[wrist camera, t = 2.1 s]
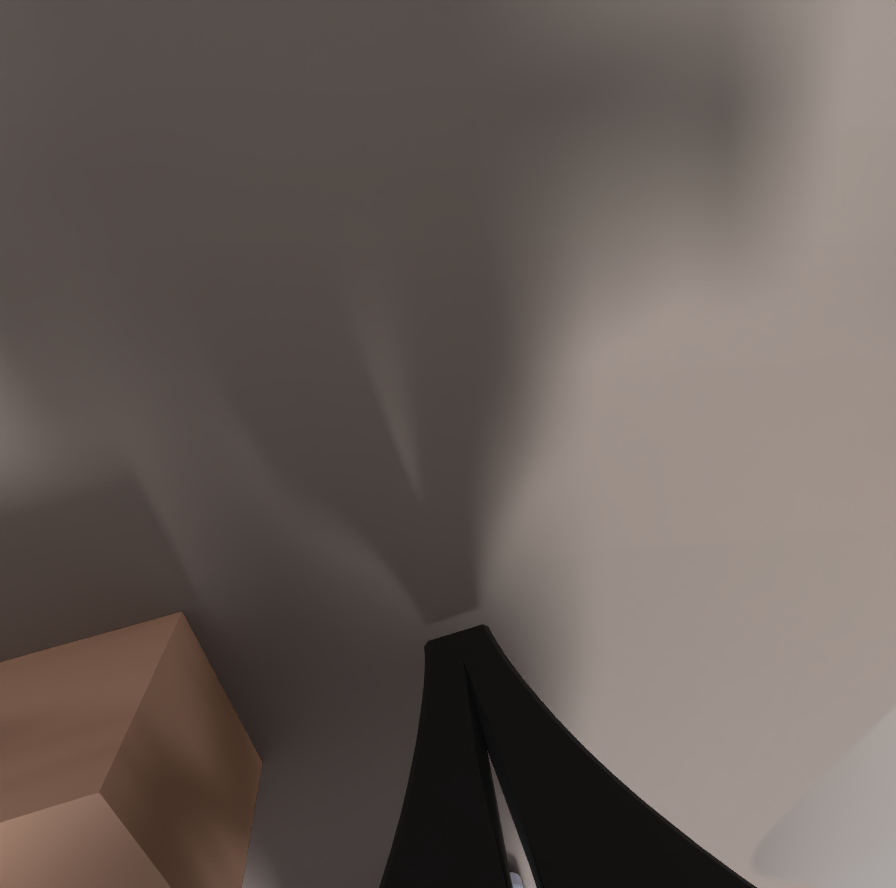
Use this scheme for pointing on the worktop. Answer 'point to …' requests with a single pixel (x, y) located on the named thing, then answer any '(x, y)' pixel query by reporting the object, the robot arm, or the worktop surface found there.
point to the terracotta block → (123, 765)
